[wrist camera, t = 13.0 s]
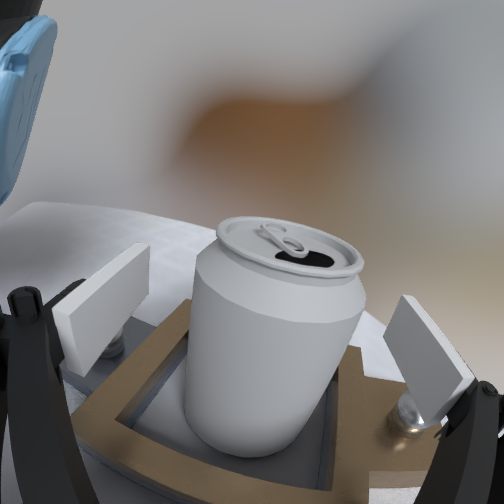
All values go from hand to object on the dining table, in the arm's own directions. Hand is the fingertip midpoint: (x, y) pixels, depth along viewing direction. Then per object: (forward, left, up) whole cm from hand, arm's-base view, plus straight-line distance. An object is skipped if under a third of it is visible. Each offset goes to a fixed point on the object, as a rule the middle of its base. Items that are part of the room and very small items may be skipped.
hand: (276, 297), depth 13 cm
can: (0, -1, -9) cm, 9 cm away
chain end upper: (+3, -1, -9) cm, 9 cm away
